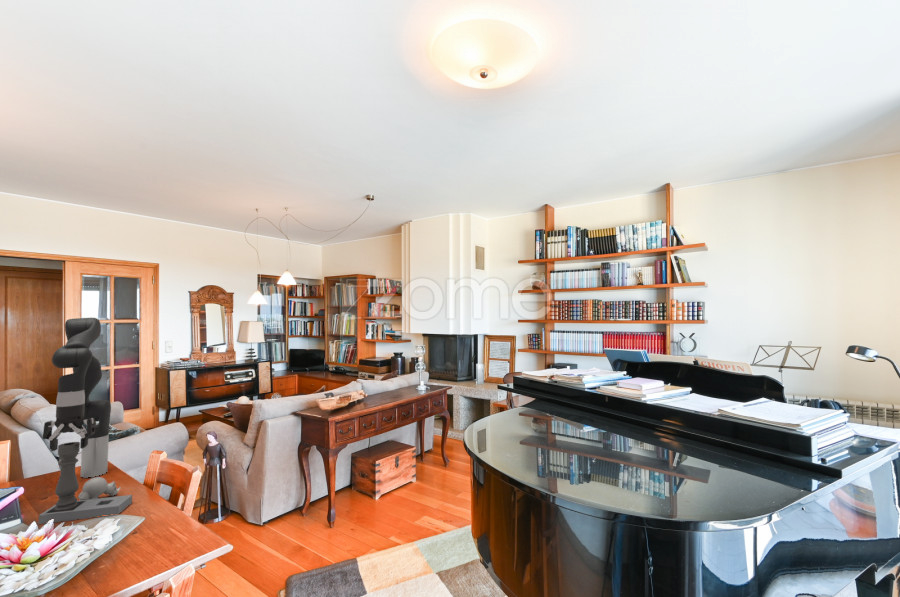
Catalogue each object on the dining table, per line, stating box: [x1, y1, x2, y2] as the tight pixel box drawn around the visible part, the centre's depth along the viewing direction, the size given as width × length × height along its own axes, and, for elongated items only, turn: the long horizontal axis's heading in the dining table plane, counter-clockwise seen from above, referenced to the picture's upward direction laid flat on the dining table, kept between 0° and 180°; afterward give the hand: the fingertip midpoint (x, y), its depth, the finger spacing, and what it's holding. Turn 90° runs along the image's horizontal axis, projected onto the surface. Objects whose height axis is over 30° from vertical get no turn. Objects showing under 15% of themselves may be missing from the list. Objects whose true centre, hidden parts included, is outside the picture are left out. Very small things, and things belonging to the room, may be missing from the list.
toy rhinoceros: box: [77, 476, 121, 501], centre depth 157 cm, size 7×12×8 cm, turn 138°
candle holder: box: [54, 441, 81, 512], centre depth 144 cm, size 6×6×25 cm
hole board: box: [38, 494, 133, 525], centre depth 145 cm, size 10×23×3 cm, turn 106°
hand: (68, 449), depth 145 cm, fingers open, 8 cm apart
